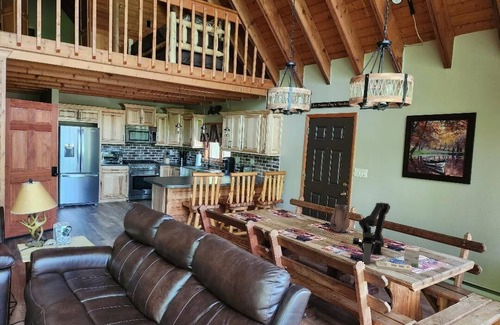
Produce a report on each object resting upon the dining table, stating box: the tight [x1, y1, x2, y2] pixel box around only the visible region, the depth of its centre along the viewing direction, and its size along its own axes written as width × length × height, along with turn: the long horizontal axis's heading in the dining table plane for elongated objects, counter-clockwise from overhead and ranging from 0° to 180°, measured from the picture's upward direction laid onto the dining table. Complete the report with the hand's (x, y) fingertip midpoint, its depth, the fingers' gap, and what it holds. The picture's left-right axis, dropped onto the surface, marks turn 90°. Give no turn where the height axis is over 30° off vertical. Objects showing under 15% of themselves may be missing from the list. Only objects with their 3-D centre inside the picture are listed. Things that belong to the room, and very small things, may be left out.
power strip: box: [374, 260, 413, 274], centre depth 222 cm, size 21×9×4 cm, turn 76°
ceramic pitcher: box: [329, 203, 350, 233], centre depth 316 cm, size 18×21×25 cm
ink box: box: [403, 246, 420, 269], centre depth 233 cm, size 9×5×12 cm, turn 47°
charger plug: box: [362, 243, 372, 265], centre depth 229 cm, size 4×4×13 cm
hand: (367, 253), depth 228 cm, fingers closed on charger plug, 4 cm apart
